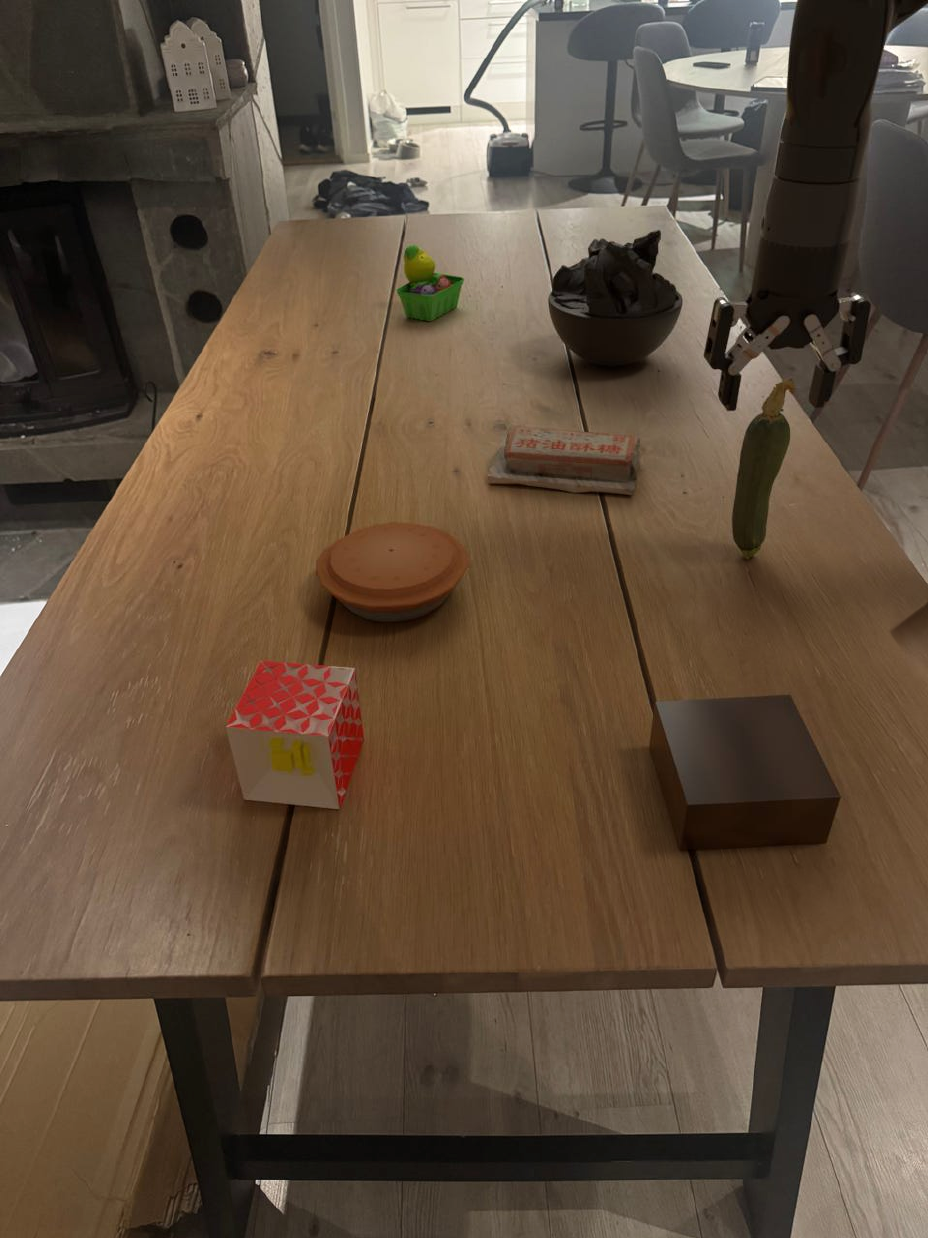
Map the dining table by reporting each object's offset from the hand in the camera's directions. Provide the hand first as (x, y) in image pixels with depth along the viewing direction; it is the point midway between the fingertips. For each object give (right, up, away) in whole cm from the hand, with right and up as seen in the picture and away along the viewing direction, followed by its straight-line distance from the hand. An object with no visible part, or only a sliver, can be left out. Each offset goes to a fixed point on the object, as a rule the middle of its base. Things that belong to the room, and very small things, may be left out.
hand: (772, 406), depth 90 cm
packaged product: (-17, -3, +26) cm, 31 cm away
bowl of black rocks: (-7, +20, +55) cm, 59 cm away
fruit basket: (-36, +34, +76) cm, 91 cm away
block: (-9, -34, -17) cm, 39 cm away
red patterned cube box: (-43, -33, -14) cm, 56 cm away
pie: (-37, -18, +6) cm, 42 cm away
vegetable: (+1, -14, +10) cm, 17 cm away
